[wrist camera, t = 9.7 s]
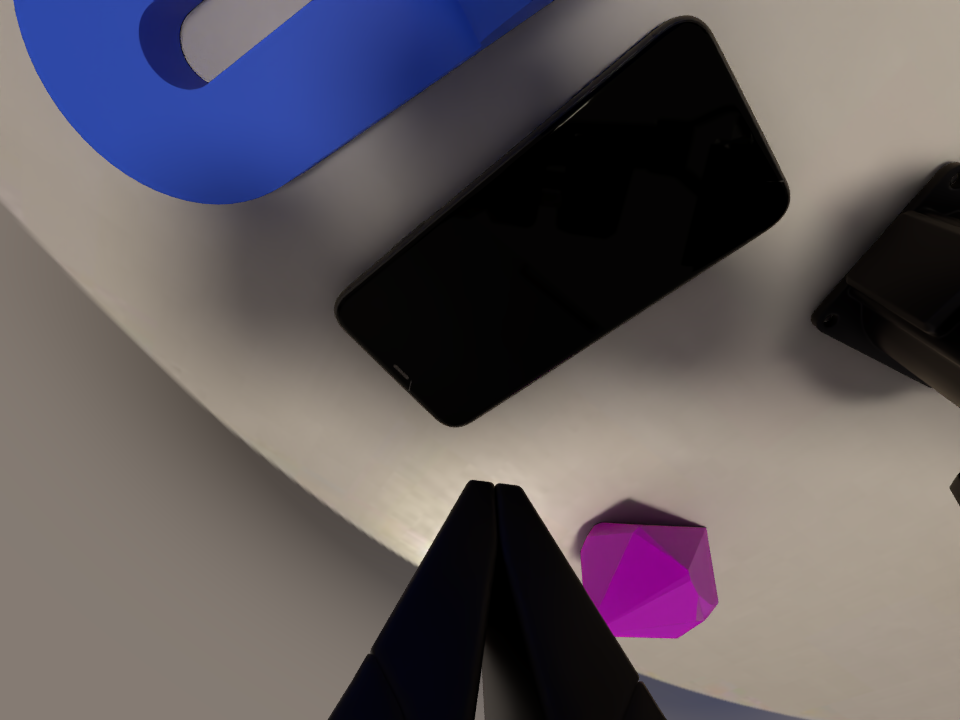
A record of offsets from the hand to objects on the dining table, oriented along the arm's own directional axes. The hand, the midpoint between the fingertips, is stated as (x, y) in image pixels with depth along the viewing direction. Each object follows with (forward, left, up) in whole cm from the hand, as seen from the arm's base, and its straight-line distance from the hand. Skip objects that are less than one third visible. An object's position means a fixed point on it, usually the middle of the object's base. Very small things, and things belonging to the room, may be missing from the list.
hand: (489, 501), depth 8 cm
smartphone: (-2, -1, -12) cm, 12 cm away
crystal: (-13, +10, -12) cm, 20 cm away
